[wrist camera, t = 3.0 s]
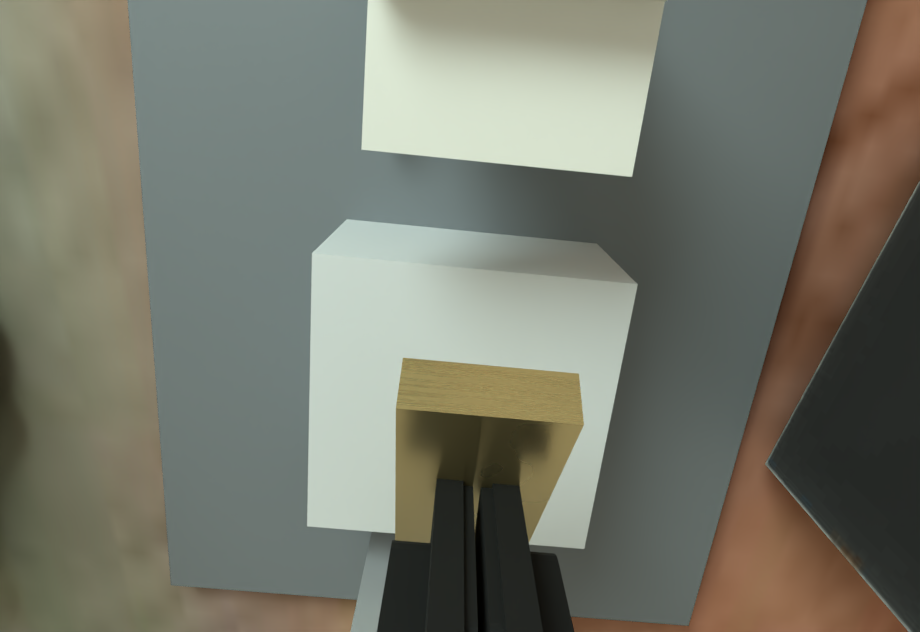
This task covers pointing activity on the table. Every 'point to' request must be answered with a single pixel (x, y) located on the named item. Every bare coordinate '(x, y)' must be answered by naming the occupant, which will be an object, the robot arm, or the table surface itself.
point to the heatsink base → (308, 171)
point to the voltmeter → (868, 429)
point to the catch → (510, 80)
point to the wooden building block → (480, 435)
